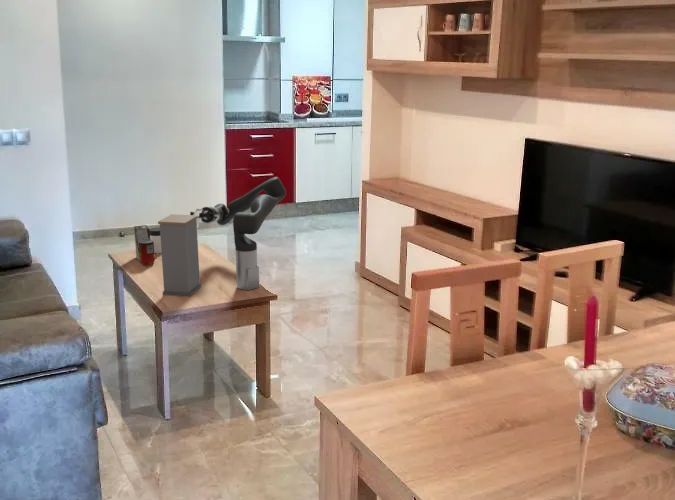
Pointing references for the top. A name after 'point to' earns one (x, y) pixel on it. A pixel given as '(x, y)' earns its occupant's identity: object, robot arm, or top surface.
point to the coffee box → (140, 236)
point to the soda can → (146, 252)
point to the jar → (156, 239)
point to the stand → (180, 255)
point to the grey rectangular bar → (198, 215)
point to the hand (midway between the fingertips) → (196, 215)
